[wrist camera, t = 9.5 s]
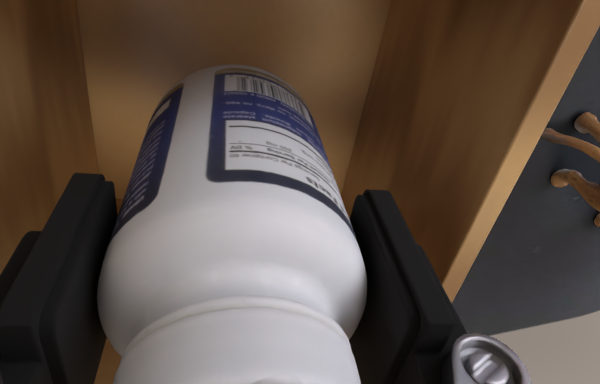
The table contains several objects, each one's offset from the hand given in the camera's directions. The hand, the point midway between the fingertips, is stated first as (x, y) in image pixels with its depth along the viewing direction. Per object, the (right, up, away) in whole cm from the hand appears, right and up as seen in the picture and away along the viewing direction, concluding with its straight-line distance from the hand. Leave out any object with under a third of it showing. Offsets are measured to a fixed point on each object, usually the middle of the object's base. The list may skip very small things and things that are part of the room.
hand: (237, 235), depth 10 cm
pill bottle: (-1, +3, +4) cm, 5 cm away
